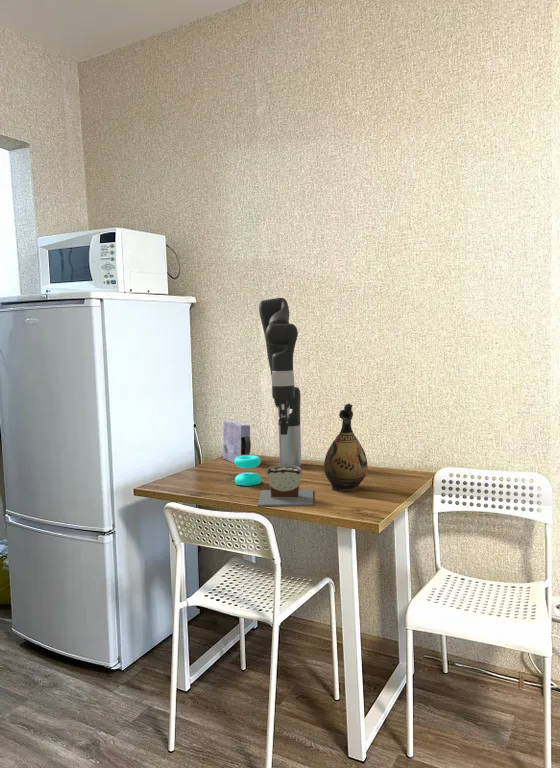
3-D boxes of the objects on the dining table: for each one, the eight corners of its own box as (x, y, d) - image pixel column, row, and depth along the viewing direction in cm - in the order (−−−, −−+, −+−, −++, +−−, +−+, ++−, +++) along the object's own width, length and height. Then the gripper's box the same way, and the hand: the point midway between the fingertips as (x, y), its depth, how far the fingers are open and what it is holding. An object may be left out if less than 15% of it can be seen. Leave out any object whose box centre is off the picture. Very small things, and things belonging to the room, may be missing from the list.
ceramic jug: (367, 494, 207) (365, 407, 205) (322, 493, 210) (320, 407, 207) (369, 482, 224) (367, 401, 221) (327, 481, 227) (325, 401, 224)
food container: (305, 493, 208) (304, 464, 207) (302, 498, 202) (302, 468, 201) (270, 492, 210) (269, 464, 210) (266, 497, 204) (265, 468, 204)
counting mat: (261, 492, 214) (261, 490, 214) (312, 491, 213) (312, 489, 213) (257, 506, 196) (257, 504, 196) (313, 505, 195) (313, 503, 195)
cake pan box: (252, 465, 260) (251, 424, 258) (241, 466, 257) (240, 425, 256) (232, 458, 276) (231, 419, 275) (222, 459, 274) (221, 420, 272)
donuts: (238, 454, 233) (263, 454, 230) (239, 480, 233) (264, 480, 231) (230, 459, 223) (257, 460, 221) (231, 486, 224) (258, 487, 222)
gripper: (294, 385, 194) (295, 435, 196) (294, 382, 209) (296, 428, 210) (270, 386, 195) (272, 436, 196) (273, 382, 209) (274, 429, 210)
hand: (284, 432), depth 203 cm, fingers open, 8 cm apart
